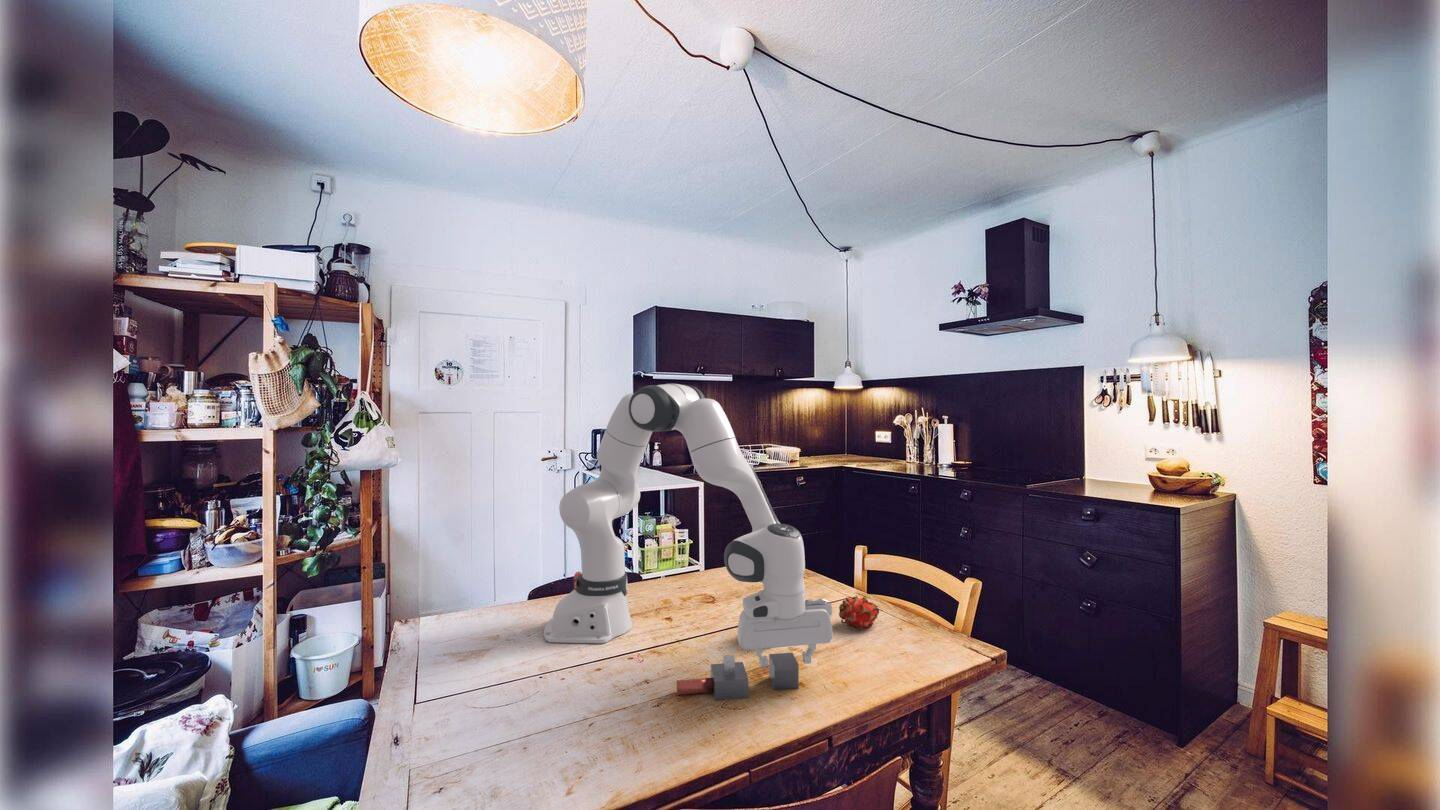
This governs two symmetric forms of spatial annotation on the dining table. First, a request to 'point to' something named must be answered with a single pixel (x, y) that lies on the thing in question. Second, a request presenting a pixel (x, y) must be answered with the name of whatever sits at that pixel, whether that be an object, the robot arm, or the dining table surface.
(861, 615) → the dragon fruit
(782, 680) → the grey block
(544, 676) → the dining table surface
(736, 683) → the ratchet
